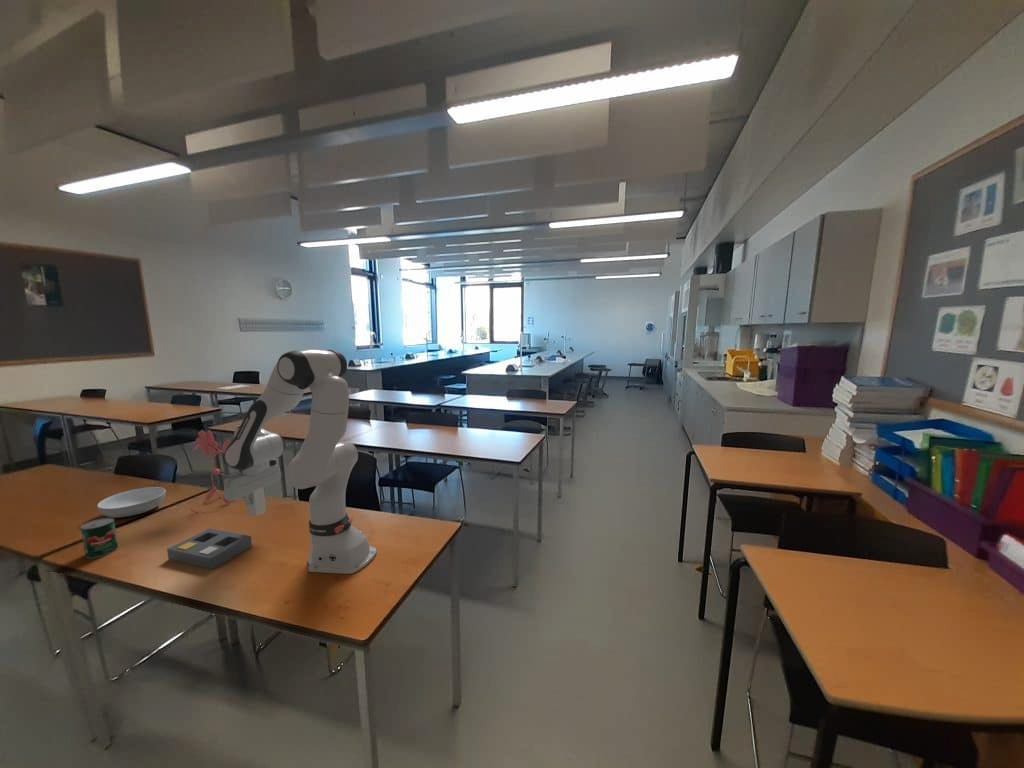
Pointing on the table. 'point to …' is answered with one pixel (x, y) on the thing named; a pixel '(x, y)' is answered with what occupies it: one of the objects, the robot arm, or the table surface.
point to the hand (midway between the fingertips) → (255, 501)
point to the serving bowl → (132, 502)
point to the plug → (257, 502)
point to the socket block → (209, 548)
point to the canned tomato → (99, 537)
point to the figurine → (209, 445)
